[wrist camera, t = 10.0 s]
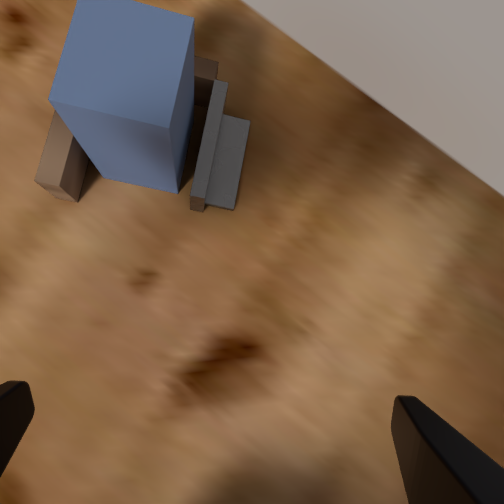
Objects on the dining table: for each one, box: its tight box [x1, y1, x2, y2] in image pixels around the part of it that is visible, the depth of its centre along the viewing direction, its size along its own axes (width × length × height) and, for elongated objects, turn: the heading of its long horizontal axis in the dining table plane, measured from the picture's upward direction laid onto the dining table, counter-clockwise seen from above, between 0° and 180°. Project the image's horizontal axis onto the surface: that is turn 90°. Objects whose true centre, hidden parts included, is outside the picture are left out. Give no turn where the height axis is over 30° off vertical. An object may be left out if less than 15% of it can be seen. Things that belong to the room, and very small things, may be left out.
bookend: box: [190, 80, 250, 212], centre depth 22 cm, size 7×3×3 cm, turn 170°
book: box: [48, 0, 194, 194], centre depth 18 cm, size 5×4×8 cm
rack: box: [34, 56, 218, 202], centre depth 21 cm, size 9×8×3 cm
